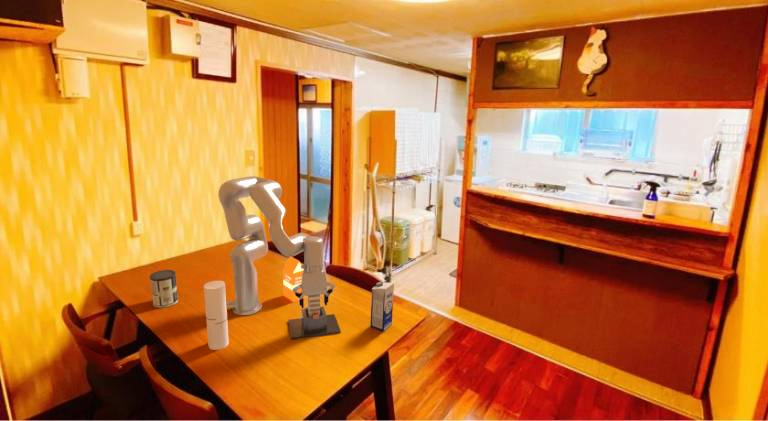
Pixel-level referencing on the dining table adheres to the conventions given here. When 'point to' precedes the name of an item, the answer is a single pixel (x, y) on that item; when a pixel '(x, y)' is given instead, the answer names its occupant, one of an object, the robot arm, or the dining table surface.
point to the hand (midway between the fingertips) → (314, 305)
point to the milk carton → (382, 306)
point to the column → (313, 304)
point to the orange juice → (292, 278)
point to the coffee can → (164, 288)
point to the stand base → (313, 325)
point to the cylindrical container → (216, 314)
